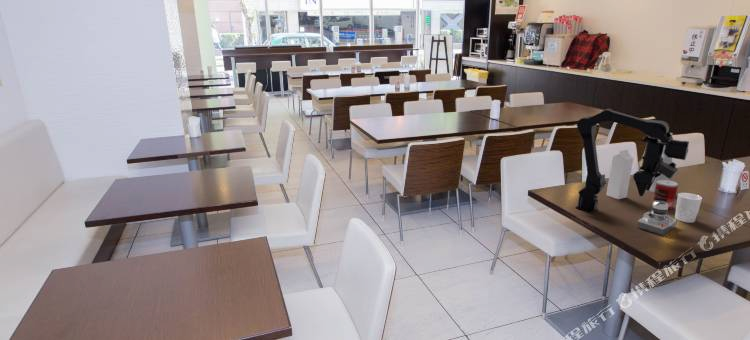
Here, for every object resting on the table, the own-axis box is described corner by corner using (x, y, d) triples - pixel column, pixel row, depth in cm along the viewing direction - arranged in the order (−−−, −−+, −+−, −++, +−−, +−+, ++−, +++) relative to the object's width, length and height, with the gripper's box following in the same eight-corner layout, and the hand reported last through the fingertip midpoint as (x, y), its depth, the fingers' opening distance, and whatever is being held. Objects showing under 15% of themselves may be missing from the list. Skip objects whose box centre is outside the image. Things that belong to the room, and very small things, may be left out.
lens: (656, 223, 166) (659, 205, 164) (646, 217, 171) (649, 200, 169) (669, 222, 166) (672, 204, 164) (658, 216, 171) (662, 199, 169)
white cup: (700, 224, 172) (706, 200, 169) (678, 222, 174) (683, 199, 171) (690, 216, 179) (696, 193, 176) (669, 214, 181) (674, 192, 178)
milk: (606, 195, 203) (613, 149, 196) (614, 193, 205) (622, 147, 199) (618, 199, 197) (626, 152, 191) (627, 197, 200) (635, 150, 193)
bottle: (662, 194, 203) (675, 135, 195) (647, 191, 208) (658, 133, 199) (668, 191, 207) (680, 133, 198) (652, 188, 212) (664, 131, 203)
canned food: (671, 204, 191) (676, 180, 188) (674, 211, 184) (679, 186, 181) (651, 202, 194) (655, 178, 191) (653, 208, 188) (658, 184, 184)
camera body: (636, 227, 169) (639, 216, 168) (650, 219, 176) (652, 209, 175) (662, 235, 163) (665, 224, 161) (675, 226, 170) (677, 216, 168)
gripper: (672, 164, 155) (662, 205, 160) (683, 154, 167) (673, 192, 172) (637, 157, 162) (628, 197, 167) (650, 148, 175) (642, 185, 180)
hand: (644, 192), depth 171 cm, fingers open, 9 cm apart
